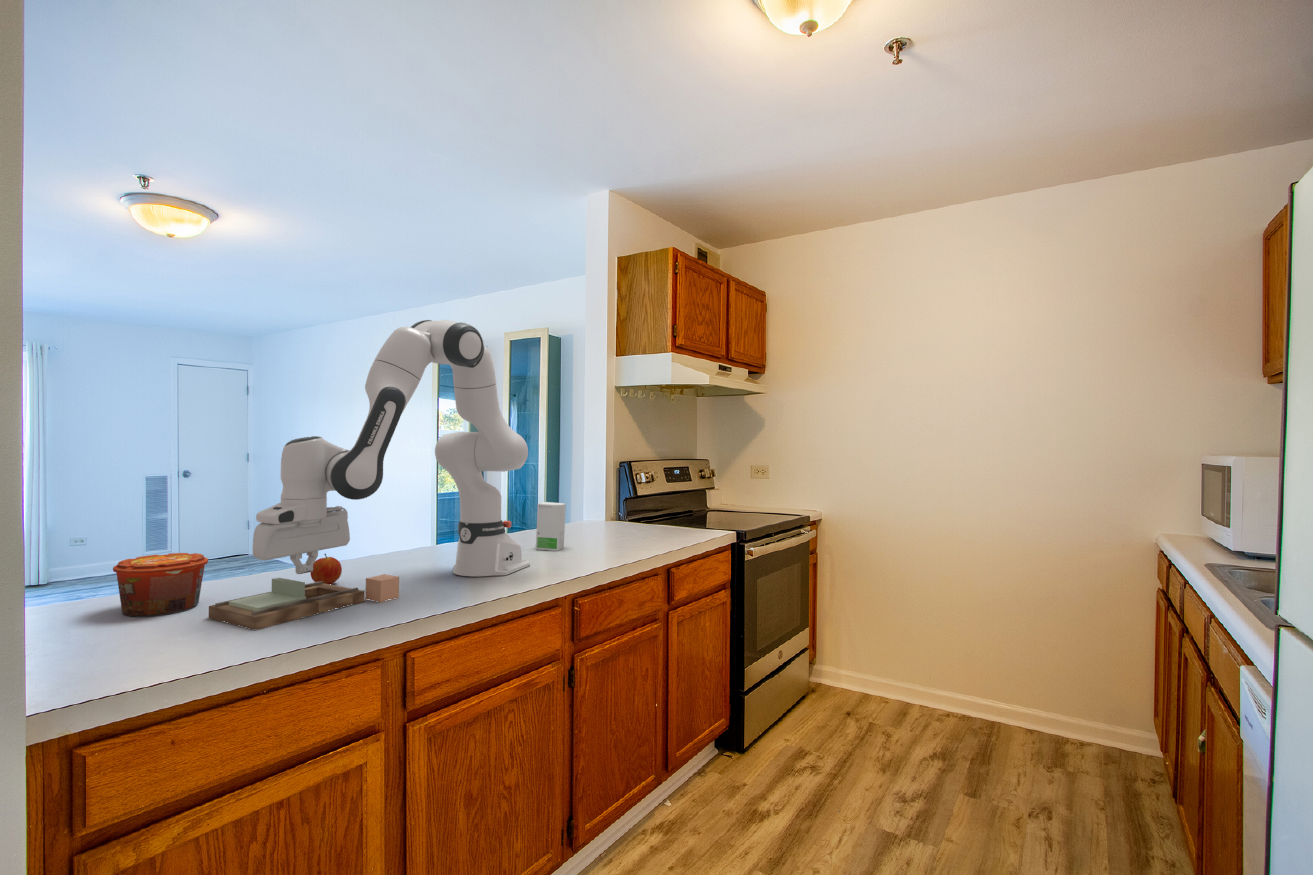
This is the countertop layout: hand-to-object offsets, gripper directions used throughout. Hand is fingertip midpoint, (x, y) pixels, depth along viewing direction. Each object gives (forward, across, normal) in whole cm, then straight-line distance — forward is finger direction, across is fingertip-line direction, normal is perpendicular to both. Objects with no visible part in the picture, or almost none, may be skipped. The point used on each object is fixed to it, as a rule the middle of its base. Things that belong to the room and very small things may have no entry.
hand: (304, 572), depth 138 cm
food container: (+7, +17, -23) cm, 29 cm away
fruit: (+8, -14, -14) cm, 21 cm away
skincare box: (+10, -84, +2) cm, 85 cm away
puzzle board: (+7, +4, +1) cm, 8 cm away
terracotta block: (+8, -12, +10) cm, 17 cm away
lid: (+4, +8, +1) cm, 9 cm away
